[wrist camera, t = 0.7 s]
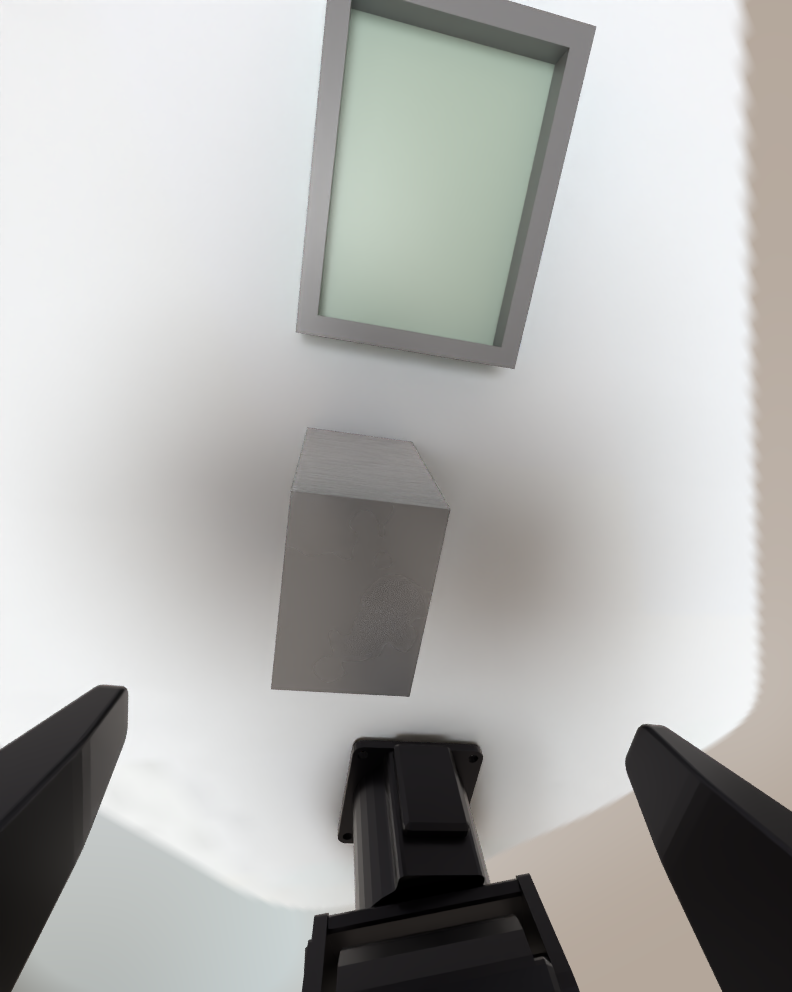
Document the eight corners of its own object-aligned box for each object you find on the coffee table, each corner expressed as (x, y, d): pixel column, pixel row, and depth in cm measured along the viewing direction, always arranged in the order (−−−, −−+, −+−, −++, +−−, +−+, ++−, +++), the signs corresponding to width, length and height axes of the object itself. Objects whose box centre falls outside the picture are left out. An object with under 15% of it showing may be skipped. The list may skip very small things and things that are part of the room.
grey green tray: (496, 362, 18) (514, 368, 16) (300, 330, 17) (295, 332, 15) (564, 61, 15) (596, 26, 13) (332, -4, 14) (331, -52, 12)
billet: (387, 577, 21) (409, 696, 15) (292, 568, 20) (270, 689, 14) (411, 441, 19) (450, 509, 13) (307, 427, 18) (290, 490, 12)
